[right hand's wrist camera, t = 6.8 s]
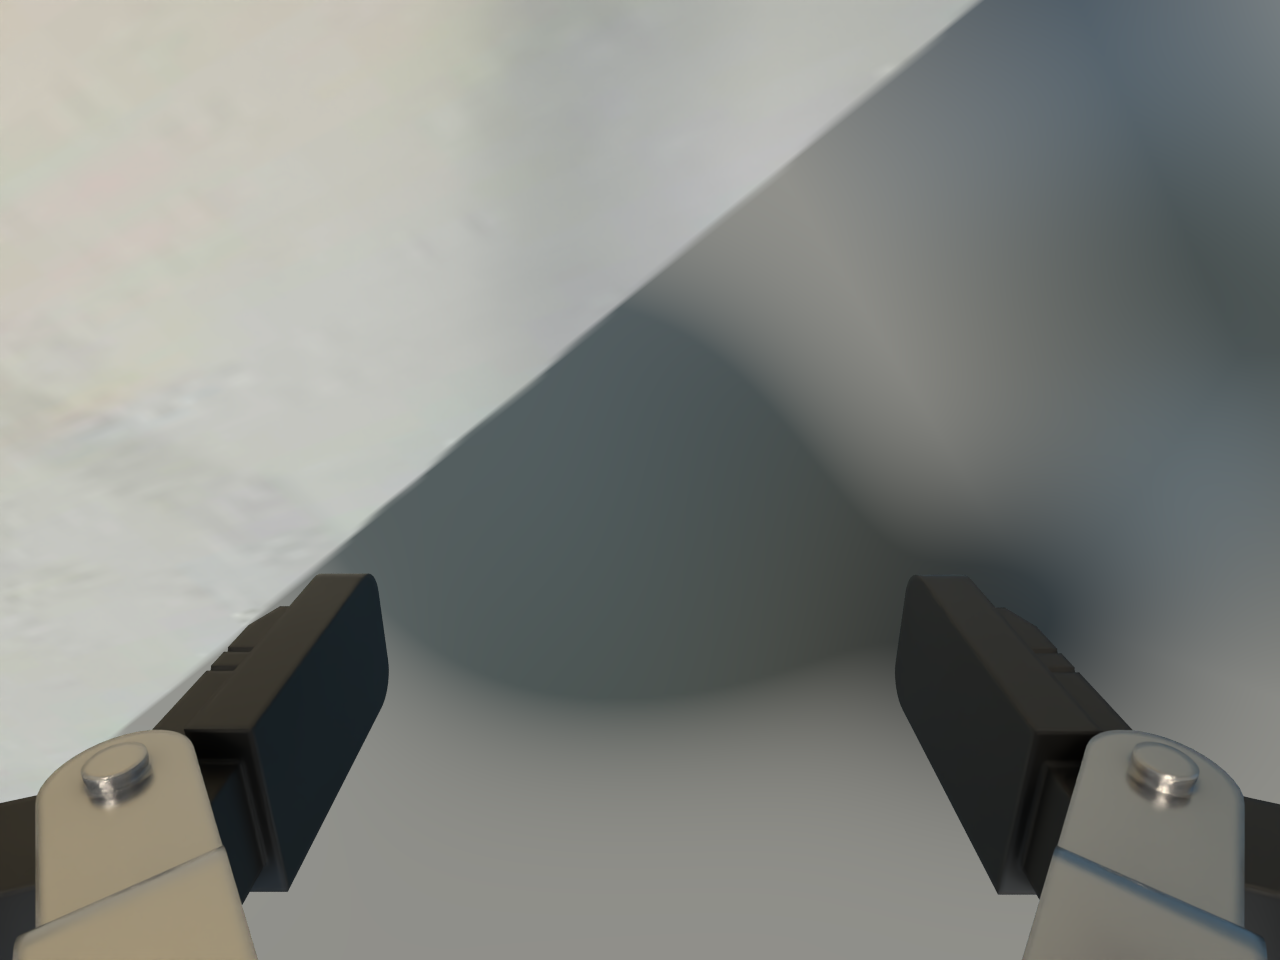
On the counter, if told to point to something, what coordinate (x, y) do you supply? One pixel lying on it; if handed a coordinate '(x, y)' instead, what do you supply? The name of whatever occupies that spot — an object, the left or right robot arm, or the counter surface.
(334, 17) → the counter surface
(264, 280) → the counter surface
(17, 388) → the counter surface
